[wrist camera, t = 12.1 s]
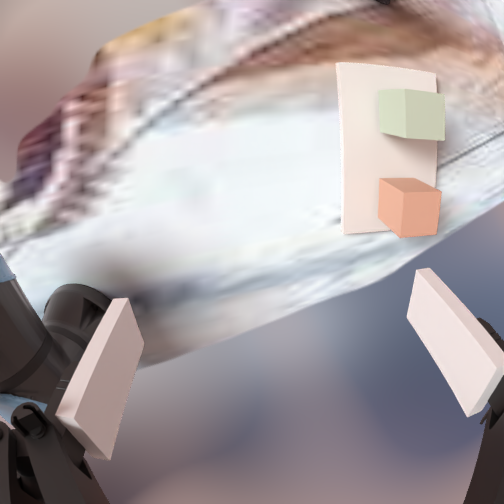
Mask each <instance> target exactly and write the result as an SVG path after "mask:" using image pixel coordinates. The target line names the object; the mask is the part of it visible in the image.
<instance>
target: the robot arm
mask: <svg viewBox="0 0 504 504" xmlns="http://www.w3.org/2000/svg"><path fill="white" fill-rule="evenodd" d="M407 319H408V320H409V322H410V323H411V325H412V326H413V328H414V329H415V331H416V332H417V334H418V335H419V337H420V338H421V340H422V341H423V343H424V345H425V346H426V348H427V349H428V351H429V352H430V354H431V356H432V357H433V359H434V360H435V362H436V364H437V365H438V367H439V369H440V370H441V372H442V374H443V375H444V377H445V379H446V380H447V382H448V384H449V386H450V387H451V389H452V391H453V393H454V394H455V396H456V398H457V400H458V401H459V403H460V405H461V407H462V408H463V410H464V412H465V414H466V416H467V417H469V416H471V415H473V414H476V413H478V412H480V411H481V410H482V409H483V408H484V406H485V405H486V403H487V402H489V404H490V405H491V407H490V408H489V410H488V411H487V413H486V414H485V416H484V417H483V418H482V420H481V422H480V424H483V422H484V420H486V418H487V420H486V424H485V429H484V434H483V439H482V443H481V447H480V451H479V455H478V459H477V462H476V466H475V469H474V473H473V476H472V480H471V482H470V486H469V489H468V491H467V494H466V497H465V500H464V503H463V504H504V341H503V340H501V337H500V336H499V335H498V333H496V331H495V330H494V329H493V328H492V326H491V325H490V324H489V323H487V322H486V321H484V320H483V319H481V318H475V317H474V316H473V315H472V313H471V312H470V311H469V310H468V309H467V308H466V307H465V305H464V304H463V303H462V302H461V301H460V300H459V299H458V298H457V296H456V295H455V294H454V293H453V292H452V291H451V290H450V289H449V288H448V287H447V286H446V285H445V284H444V283H443V281H442V280H441V279H440V278H439V277H438V276H437V275H436V274H435V273H434V272H433V271H432V270H431V269H430V268H426V269H418V270H416V274H415V279H414V284H413V289H412V294H411V299H410V304H409V308H408V313H407ZM144 345H145V343H144V341H143V338H142V335H141V333H140V330H139V327H138V325H137V322H136V319H135V316H134V313H133V310H132V308H131V305H130V302H129V299H128V298H117V299H113V300H112V302H111V301H110V300H109V299H108V298H107V297H105V296H104V295H103V294H101V293H100V292H98V291H96V290H94V289H92V288H90V287H87V286H84V285H80V284H66V285H63V286H61V287H59V288H57V289H56V290H55V291H54V293H53V294H52V295H51V296H50V298H49V299H48V301H47V303H46V306H45V310H44V316H43V319H42V321H41V319H40V318H39V316H38V315H37V313H36V312H35V310H34V309H33V307H32V306H31V304H30V302H29V301H28V299H27V298H26V296H25V294H24V293H23V291H22V289H21V287H20V286H19V284H18V282H17V280H16V276H15V274H13V273H12V272H11V270H10V268H9V267H8V265H7V263H6V262H5V260H4V258H3V256H2V255H1V254H0V415H1V416H2V417H3V418H4V419H5V420H6V421H7V422H8V423H10V424H11V425H13V426H14V427H15V428H16V429H12V430H11V429H10V428H9V427H8V426H7V425H6V424H5V423H3V422H1V421H0V504H110V503H109V501H108V499H107V498H106V496H105V495H104V493H103V491H102V489H101V487H100V486H99V484H98V482H97V480H96V478H95V476H94V475H93V473H92V471H91V469H90V467H89V465H88V463H87V461H86V460H85V458H84V457H83V456H84V453H85V450H86V451H87V452H88V453H89V454H90V455H91V456H92V457H94V458H99V459H104V460H110V459H111V455H112V451H113V447H114V443H115V440H116V436H117V432H118V429H119V425H120V421H121V418H122V415H123V411H124V408H125V404H126V401H127V398H128V394H129V391H130V388H131V384H132V381H133V378H134V375H135V372H136V369H137V366H138V363H139V360H140V357H141V354H142V351H143V348H144Z"/></svg>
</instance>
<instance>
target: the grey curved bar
mask: <svg viewBox="0 0 504 504" xmlns="http://www.w3.org/2000/svg"><path fill="white" fill-rule="evenodd" d="M376 1H379V2H381V3H384V4H389V2H390V0H376Z"/></svg>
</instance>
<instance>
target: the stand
mask: <svg viewBox="0 0 504 504" xmlns="http://www.w3.org/2000/svg"><path fill="white" fill-rule="evenodd" d="M336 73H337V86H338V100H339V118H340V142H341V232H342V233H343V234H353V233H365V232H377V231H389V230H392V231H393V232H394V233H395V234H396V235H397V236H398V237H399V238H404V237H415V236H426V235H436V234H437V227H438V219H439V211H440V202H441V193H442V192H441V191H439V190H437V189H435V184H436V169H437V144H438V140H427V139H410V138H403V137H399V136H395V135H391V134H386V133H382V132H380V115H379V94H378V90H389V89H412V90H420V91H427V92H433V93H437V86H436V73H431V72H425V71H419V70H413V69H406V68H399V67H392V66H383V65H373V64H362V63H347V62H337V63H336Z"/></svg>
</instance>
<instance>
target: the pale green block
mask: <svg viewBox="0 0 504 504" xmlns="http://www.w3.org/2000/svg"><path fill="white" fill-rule="evenodd" d="M378 94H379V115H380V132H382V133H386V134H391V135H395V136H399V137H403V138H410V139H427V140H441V141H445V97H444V94H439V93H433V92H427V91H420V90H412V89H389V90H378Z"/></svg>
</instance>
